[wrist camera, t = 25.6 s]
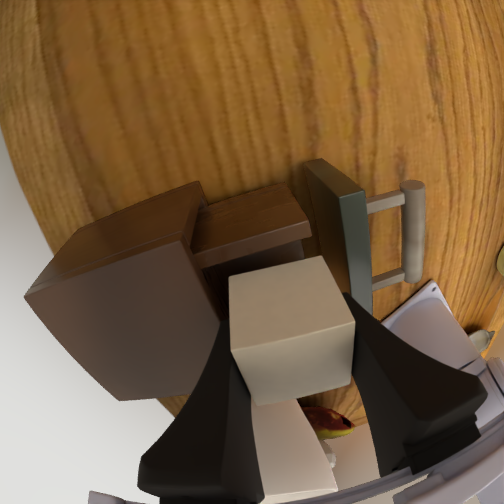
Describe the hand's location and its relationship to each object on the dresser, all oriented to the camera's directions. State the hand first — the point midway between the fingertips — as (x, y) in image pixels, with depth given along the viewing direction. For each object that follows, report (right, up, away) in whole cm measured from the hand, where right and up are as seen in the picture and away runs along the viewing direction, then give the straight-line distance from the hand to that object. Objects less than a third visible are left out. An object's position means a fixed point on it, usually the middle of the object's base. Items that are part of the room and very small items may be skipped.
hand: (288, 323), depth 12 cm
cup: (-1, -9, +15) cm, 17 cm away
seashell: (+28, -9, +18) cm, 35 cm away
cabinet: (-8, +2, +8) cm, 11 cm away
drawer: (+2, +4, +6) cm, 8 cm away
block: (0, +1, +1) cm, 1 cm away
